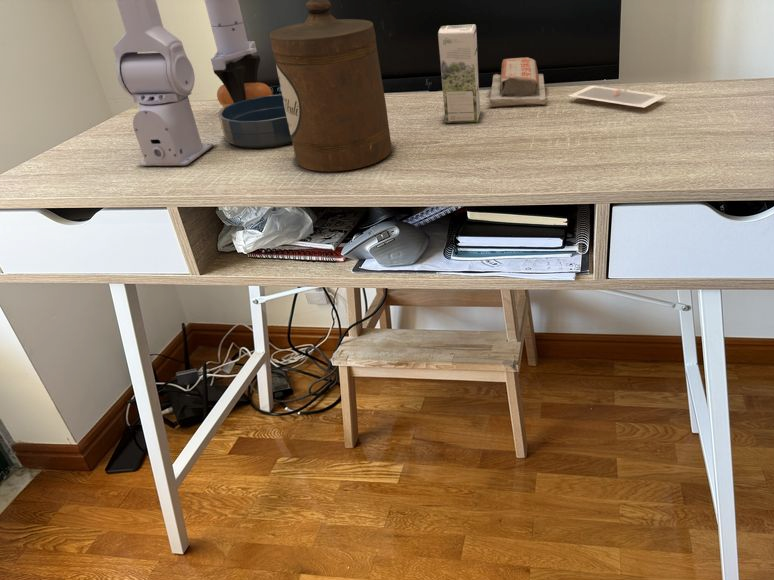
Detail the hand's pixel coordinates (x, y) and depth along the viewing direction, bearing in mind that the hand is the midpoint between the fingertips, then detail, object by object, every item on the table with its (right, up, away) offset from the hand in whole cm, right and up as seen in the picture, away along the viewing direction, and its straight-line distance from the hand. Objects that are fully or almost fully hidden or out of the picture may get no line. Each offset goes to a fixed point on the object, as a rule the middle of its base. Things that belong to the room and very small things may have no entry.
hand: (246, 100), depth 130 cm
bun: (0, -1, +1) cm, 1 cm away
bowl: (+9, -11, -14) cm, 20 cm away
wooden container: (+24, -18, -25) cm, 39 cm away
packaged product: (+52, 0, -3) cm, 52 cm away
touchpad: (+69, -5, -12) cm, 70 cm away
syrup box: (+42, -8, -14) cm, 45 cm away
